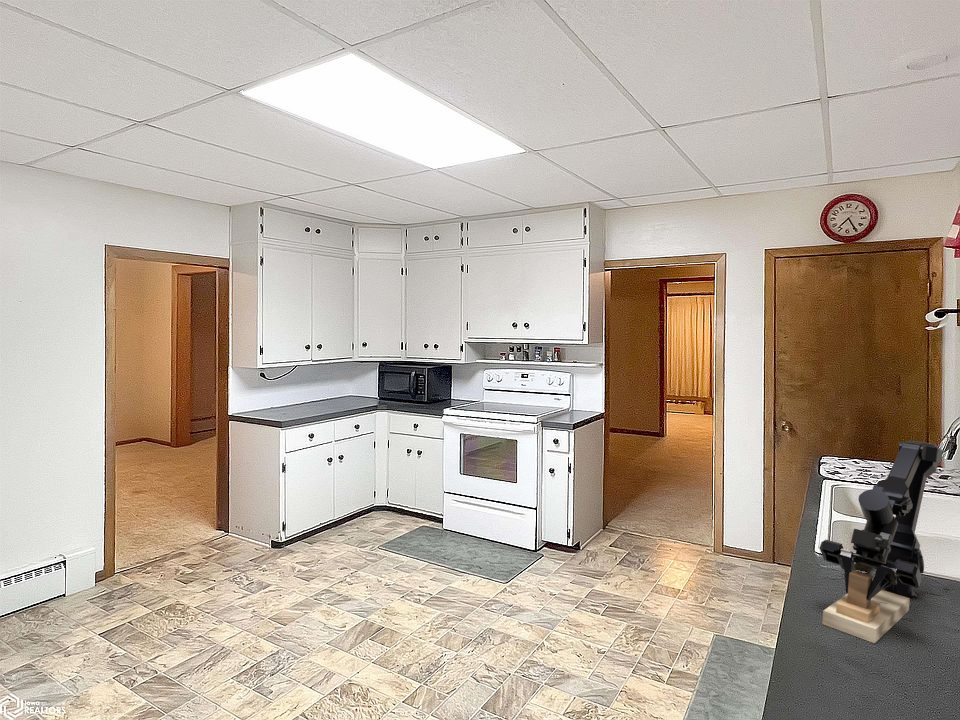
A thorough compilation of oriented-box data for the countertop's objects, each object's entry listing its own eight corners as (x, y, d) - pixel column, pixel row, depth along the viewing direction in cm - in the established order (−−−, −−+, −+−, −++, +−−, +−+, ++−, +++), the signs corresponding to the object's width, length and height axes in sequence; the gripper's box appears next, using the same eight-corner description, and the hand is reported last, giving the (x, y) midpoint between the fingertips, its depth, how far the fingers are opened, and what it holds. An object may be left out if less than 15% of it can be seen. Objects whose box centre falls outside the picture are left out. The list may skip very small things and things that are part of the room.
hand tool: (868, 576, 161) (870, 559, 161) (851, 571, 164) (853, 554, 164) (889, 560, 174) (890, 544, 174) (873, 555, 177) (874, 540, 177)
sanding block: (849, 602, 137) (852, 565, 137) (879, 612, 133) (882, 574, 132) (836, 612, 132) (838, 574, 132) (867, 623, 128) (870, 583, 127)
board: (860, 595, 148) (861, 583, 148) (908, 610, 141) (909, 598, 141) (822, 624, 133) (823, 610, 133) (874, 643, 125) (875, 629, 125)
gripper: (825, 504, 141) (802, 562, 134) (922, 527, 127) (902, 592, 120) (835, 531, 146) (814, 587, 140) (929, 555, 132) (910, 619, 126)
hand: (857, 595), depth 131 cm, fingers closed on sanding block, 4 cm apart
